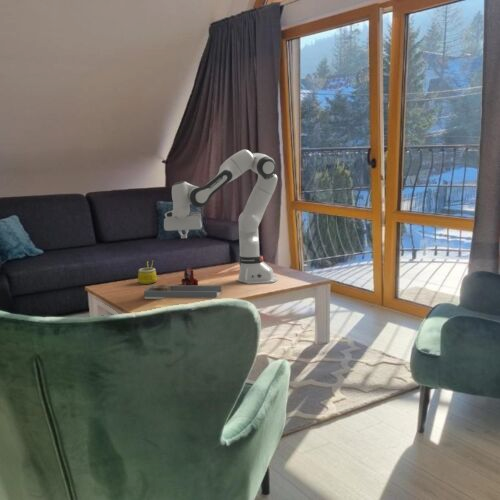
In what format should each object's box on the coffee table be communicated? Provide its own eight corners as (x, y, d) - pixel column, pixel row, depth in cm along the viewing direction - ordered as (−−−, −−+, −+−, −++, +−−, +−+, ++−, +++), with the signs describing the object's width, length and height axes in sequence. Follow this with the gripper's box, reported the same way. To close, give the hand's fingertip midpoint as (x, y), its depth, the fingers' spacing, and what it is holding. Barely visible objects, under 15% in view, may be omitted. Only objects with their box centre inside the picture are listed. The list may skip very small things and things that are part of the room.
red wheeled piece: (192, 282, 325) (191, 265, 323) (199, 287, 314) (198, 269, 312) (180, 284, 322) (179, 266, 321) (187, 289, 311) (185, 270, 309)
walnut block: (170, 292, 301) (170, 285, 300) (167, 295, 295) (167, 287, 295) (156, 292, 302) (155, 285, 302) (152, 295, 297) (152, 287, 296)
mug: (148, 285, 322) (147, 264, 320) (134, 283, 328) (132, 263, 325) (163, 280, 332) (162, 260, 330) (149, 279, 338) (148, 259, 336)
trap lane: (221, 293, 301) (221, 285, 300) (216, 299, 289) (216, 291, 288) (152, 292, 306) (151, 285, 306) (144, 298, 294) (144, 291, 294)
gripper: (202, 210, 305) (204, 236, 308) (165, 212, 308) (167, 237, 311) (199, 212, 299) (201, 238, 302) (161, 214, 302) (164, 240, 305)
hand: (184, 238), depth 306 cm, fingers closed
